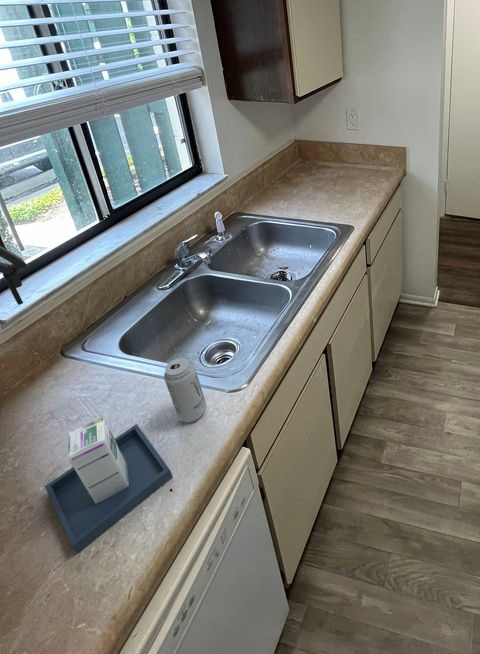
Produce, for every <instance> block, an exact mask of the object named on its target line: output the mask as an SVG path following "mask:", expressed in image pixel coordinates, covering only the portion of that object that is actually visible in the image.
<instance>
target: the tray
mask: <svg viewBox="0 0 480 654" xmlns="http://www.w3.org/2000/svg"><path fill="white" fill-rule="evenodd" d="M114 439H115V441H116V443H117V445H118V447H119V449H120V451H121V453H122V455H123V457H124V459H125V461H126V462H127V470H128V482H129V487H127V488H125V489H124V490H122V491H120V492H118V493H116V494H114V495H113V496H111V497H109V498H107V499H105V500H103V501H101V502H99V503H97V504H95V503H94V501H93V499H92V498H91V496H90V494H89V493H88V491H87V489H86V488H85V486H84V484H83V483H82V481H81V479H80V477H79V476H78V474H77V472H76V471H75V469H74V467H73V466H72V467H71V468H69V469H68V470H66V471H65V472H64V473H62V474H60V475H58V477H56V478H55V479H53V480H52V481H50V482H49V483H48V484H46V485H45V486H44V488H45V490H46V493H47V494H48V497H49V499H50V501H51V503H52V506H53V508H54V510H55V512H56V515H57V516H58V518H59V521H60V523H61V525H62V527H63V530H64V532H65V534H66V536H67V538H68V540H69V543H70V545H71V548H72V549H73V551H74V552H75V554H76V555H78V554H79V553H81V552H82V551H83V550H84V549H85V548H87V547H88V546H89V545H91V544H92V543H93V542H95V541H96V540H97V539H98V538H99V537H100V536H102V535H103V534H104V533H106V532H107V531H108V530H109V529H111V528H112V527H113V526H115V525H116V524H117V523H118V522H119V521H120V520H122V519H124V517H125V516H126V515H128V514H129V513H130V512H132V511H133V510H134V509H135V508H137V507H138V506H140V504H142V503H143V502H145V500H147V499H148V498H149V497H150V496H151V495H153V494H154V493H155V492H157V491H158V490H159V489H160V488H161V487H163V486H164V485H165V484H167V483H168V482H169V481H171V480H172V479H173V474H172V472H171V469H170V468H169V466H168V465H167V464H166V462H165V461H164V459H163V458H162V456H161V455H160V454H159V452H158V451H157V450H156V449H155V447H154V446H153V444H152V443H151V442H150V440H149V439H148V438H147V436H146V435H145V433H144V432H143V430H141V428H140V426H139V425H138V424H134V425H133V426H131V427H130V428H128V429H127V430H125V431H124V432H123V433H121V434H119V435H118V436H116V437H114Z"/></svg>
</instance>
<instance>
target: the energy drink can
mask: <svg viewBox="0 0 480 654" xmlns="http://www.w3.org/2000/svg"><path fill="white" fill-rule="evenodd" d="M164 368H165V369H164V371H165V372H164V374H163V378H164V382H165V384H166V387H167V390H168V393H169V396H170V398H171V401H172V404H173V407H174V410H175V413H176V416H177V418H178V421H180V422H182V423H188V424H190V423H194V422H196V421H198V420H199V419H201V417H203V415H204V414H205V412H206V410H207V402H206V399H205V395H204V392H203V389H202V385H201V382H200V379H199V376H198V372H197V370H196V369H197V368H196V365H195V363H194V362H192V360H190V359H189V358H188V357H185V356H180V357H176V358H174V359H172V360H171V361H170V362H168V363H167V364H166V366H165V367H164Z"/></svg>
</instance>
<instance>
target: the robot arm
mask: <svg viewBox="0 0 480 654" xmlns="http://www.w3.org/2000/svg"><path fill="white" fill-rule="evenodd" d="M0 257H1V258H2V259H4V260H6V261H7V262H8V263H6V262H1V261H0V273H1V275H2V276H3V278H4V280H5V282H6V284H7V287H8V289H9V291H10V293H11V294H12V296H13V298H14V300H15V302H16V304H17V305H18V306H21V305H22V304H24V301H23V299H22V297H21V295H20V293H19V291H18V288H21V287H23V282H22V280H21V278H20V276H19V274H18V272H19V271H20V270H21V269H24V268H26V267H27V263H26V261H25V260H24V258H21V257H20V256H18V255H17V254H15V253H14V252H11V251H10V250H8V249H7V248H5V247H4V246H2V245H0ZM9 263H11V264H9Z"/></svg>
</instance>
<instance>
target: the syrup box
mask: <svg viewBox="0 0 480 654" xmlns="http://www.w3.org/2000/svg"><path fill="white" fill-rule="evenodd" d="M67 459H68V460H69V462H70V464H71V466H72V467H74V469H75V471H76V472H77V474H78V476H79V477H80V479H81V481H82V483H83V484H84V486H85V488H86V489H87V491H88V493H89V494H90V496H91V498H92V499H93V501H94V503H95V504H97V503H99V502H101V501H103V500H105V499H107V498H109V497H111V496H113V495H114V494H116V493H118V492H120V491H122V490H124V489H125V488H127V487H129V482H128V470H127V462H126V461H125V459H124V457H123V455H122V453H121V451H120V449H119V447H118V445H117V443H116V441H115V437H114V435H113V433H112V431H111V428H110V427H109V425H108V423H107V421H106V419H105V418H104V417H101V418H98V419H96V420H94V421H93V420H92V421H90V422H89V423H86V424H83V425H82V426H80V427H77V428H76V429H74V430H72V431H70V432H69V433H68V442H67Z"/></svg>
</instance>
